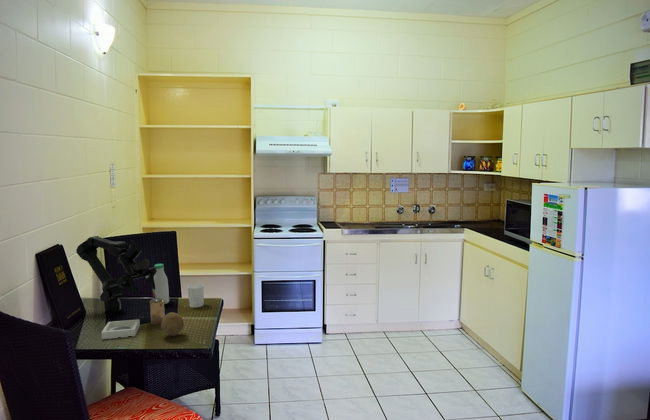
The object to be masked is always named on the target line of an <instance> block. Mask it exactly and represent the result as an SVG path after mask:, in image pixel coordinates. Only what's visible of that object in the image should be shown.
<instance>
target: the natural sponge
mask: <svg viewBox="0 0 650 420" xmlns="http://www.w3.org/2000/svg"><path fill="white" fill-rule="evenodd" d="M160 327H161V329H162V330H163V332H165V333H166V334H168V335H169V336H171V337H176V336H177V335H178V334H179V333H180V332H181V331H182V330H183V329H184V327H185V322H184V319H183V317H181V315H180V314H179V313H177V312H168V313H166V314H165V317H164V318H163V320H162V323H161V324H160Z"/></svg>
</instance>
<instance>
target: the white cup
mask: <svg viewBox="0 0 650 420" xmlns="http://www.w3.org/2000/svg"><path fill="white" fill-rule="evenodd" d="M204 287H205V285H204V284H200V283H195V284H189V285H187V287H186V288H187V296H188V302H189V303H188V304H189V307H190V308H192V309H193V308H194V309H195V308H196V309H197V308H201V307H203V306H204V304H205V303H204V299H205V297H204V295H205V293H204V292H205V288H204Z"/></svg>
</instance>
